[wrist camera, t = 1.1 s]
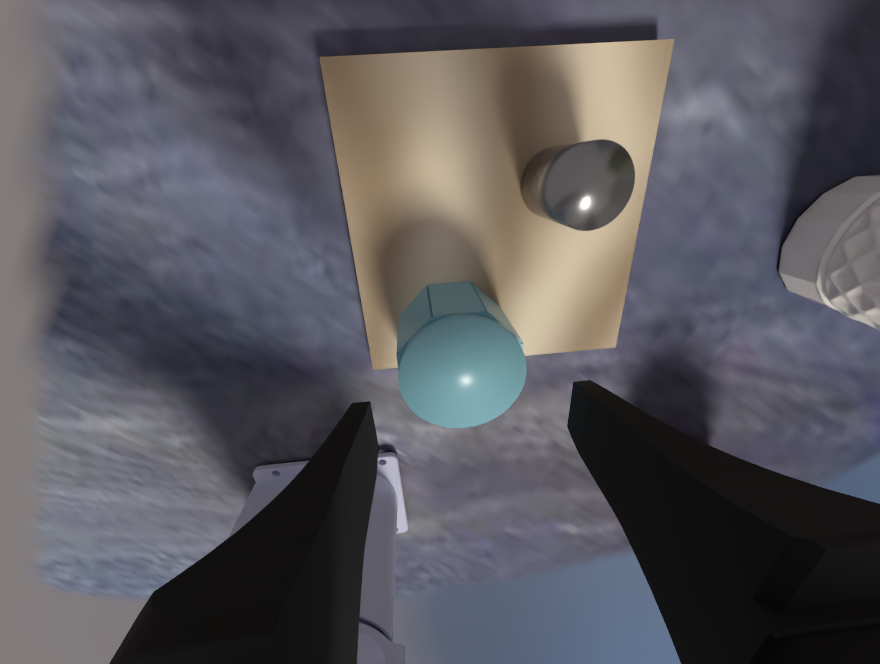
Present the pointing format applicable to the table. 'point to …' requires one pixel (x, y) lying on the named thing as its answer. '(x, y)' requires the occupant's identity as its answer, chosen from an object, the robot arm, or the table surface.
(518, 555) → the table surface
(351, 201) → the board
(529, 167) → the stud
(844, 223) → the white cup
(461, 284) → the cap
